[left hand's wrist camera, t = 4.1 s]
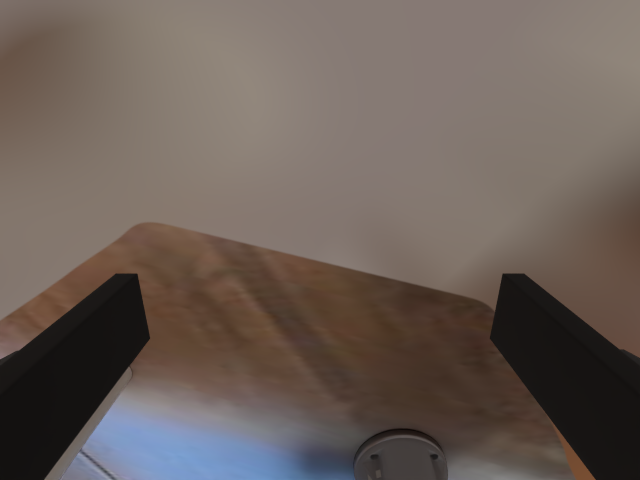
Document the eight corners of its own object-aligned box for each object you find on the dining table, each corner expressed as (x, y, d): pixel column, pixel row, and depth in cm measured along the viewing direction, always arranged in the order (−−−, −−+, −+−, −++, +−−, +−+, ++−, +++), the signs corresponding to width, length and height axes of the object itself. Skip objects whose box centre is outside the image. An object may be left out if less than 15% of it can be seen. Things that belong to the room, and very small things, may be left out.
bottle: (93, 369, 53) (-62, 545, 32) (114, 353, 52) (-31, 523, 30) (118, 389, 54) (-15, 571, 33) (138, 373, 53) (16, 550, 32)
